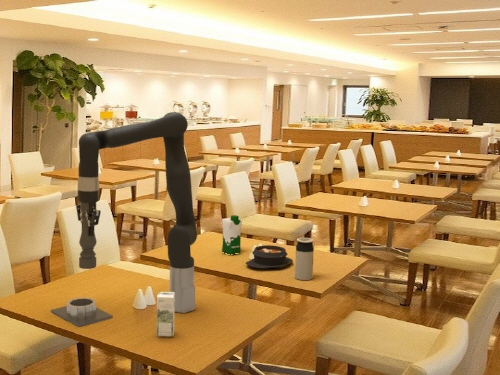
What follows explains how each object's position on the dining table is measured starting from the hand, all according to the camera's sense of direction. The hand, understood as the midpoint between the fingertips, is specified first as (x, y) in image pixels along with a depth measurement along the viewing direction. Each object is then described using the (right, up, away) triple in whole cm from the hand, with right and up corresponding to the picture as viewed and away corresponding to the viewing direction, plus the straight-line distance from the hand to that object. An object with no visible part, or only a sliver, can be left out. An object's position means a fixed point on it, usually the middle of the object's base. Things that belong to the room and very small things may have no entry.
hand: (87, 234), depth 233 cm
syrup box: (+30, -34, -14) cm, 47 cm away
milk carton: (+50, -17, +94) cm, 108 cm away
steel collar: (-3, -30, +2) cm, 30 cm away
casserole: (+69, -21, +74) cm, 103 cm away
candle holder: (-1, -12, +2) cm, 12 cm away
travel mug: (+84, -24, +55) cm, 103 cm away
